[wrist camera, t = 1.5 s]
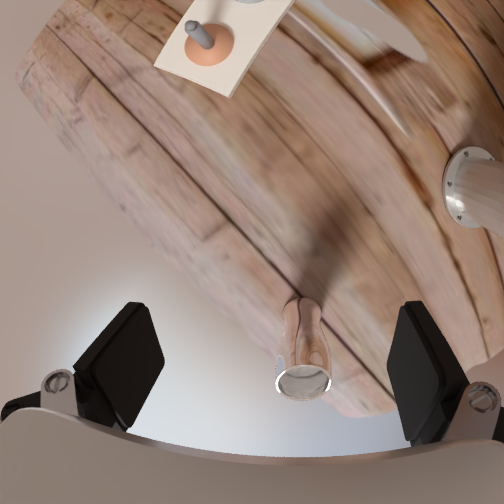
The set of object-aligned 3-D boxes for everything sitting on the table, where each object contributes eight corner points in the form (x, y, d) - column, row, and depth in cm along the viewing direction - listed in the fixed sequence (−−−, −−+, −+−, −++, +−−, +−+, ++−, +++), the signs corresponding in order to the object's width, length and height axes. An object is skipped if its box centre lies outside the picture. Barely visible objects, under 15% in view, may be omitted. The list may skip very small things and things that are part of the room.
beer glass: (270, 309, 44) (261, 379, 30) (307, 286, 42) (313, 354, 28) (296, 337, 46) (295, 408, 32) (332, 316, 43) (344, 387, 30)
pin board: (235, -42, 24) (221, -75, 15) (309, -17, 25) (312, -53, 16) (158, 67, 32) (123, 52, 23) (230, 98, 33) (211, 85, 24)
